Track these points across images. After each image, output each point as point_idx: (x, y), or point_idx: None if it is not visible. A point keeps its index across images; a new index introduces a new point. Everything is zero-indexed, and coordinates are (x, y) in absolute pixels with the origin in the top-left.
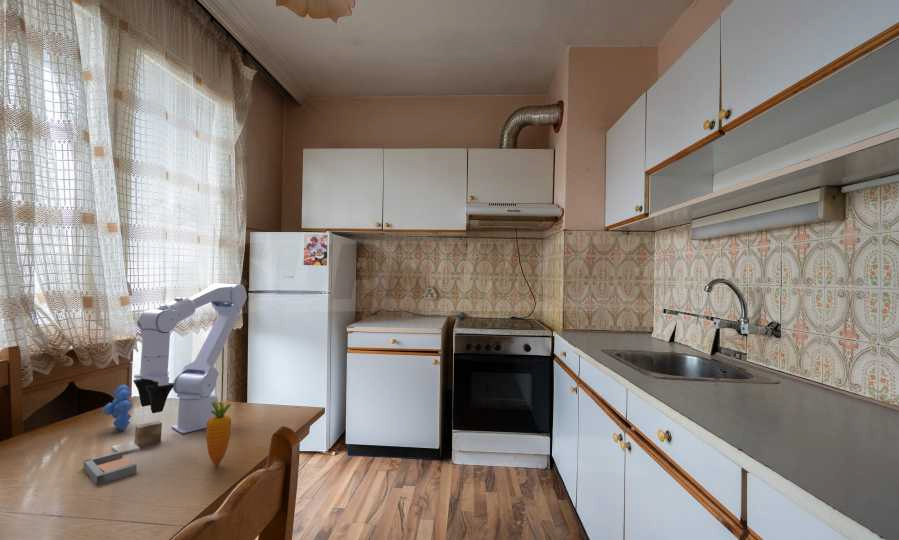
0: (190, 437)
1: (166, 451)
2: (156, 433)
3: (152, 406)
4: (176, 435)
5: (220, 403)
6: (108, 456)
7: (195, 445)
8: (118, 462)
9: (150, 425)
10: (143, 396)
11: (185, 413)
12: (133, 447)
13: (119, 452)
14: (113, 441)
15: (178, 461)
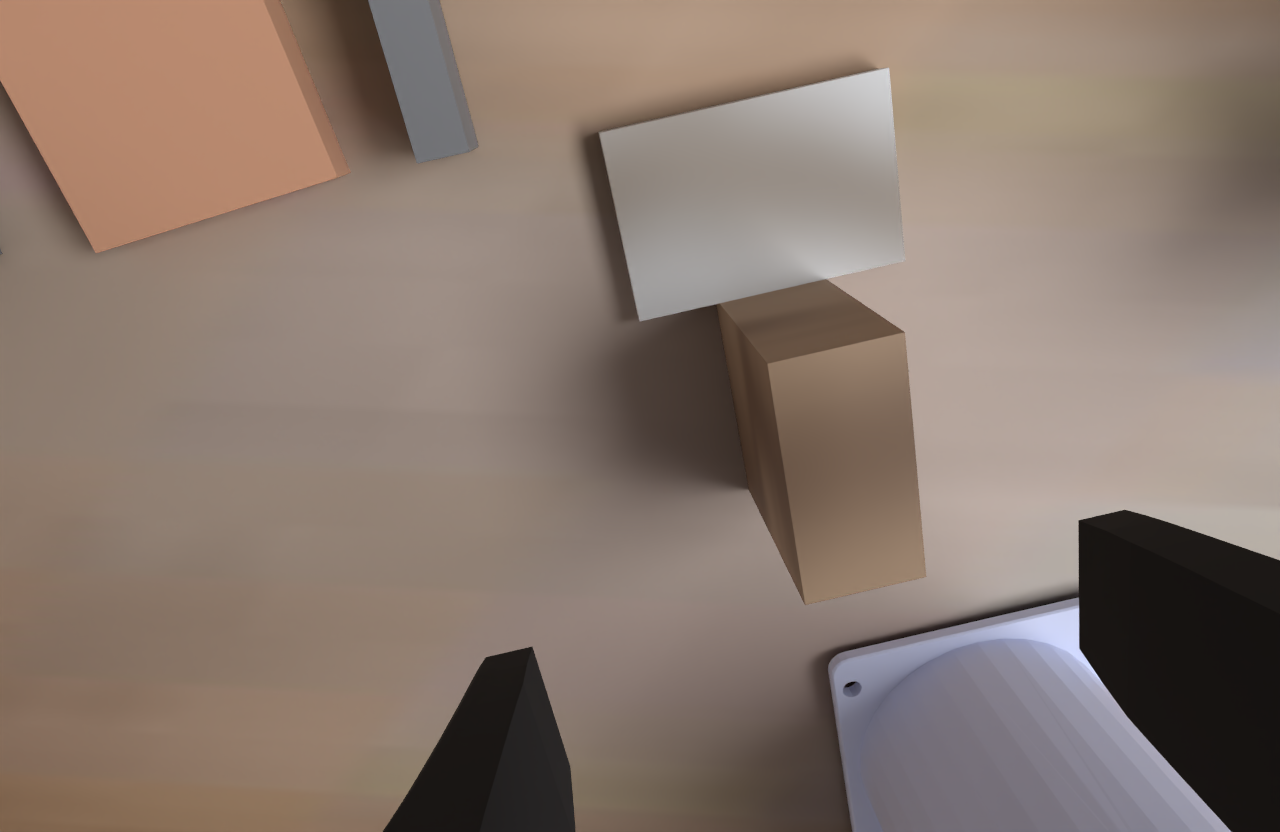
0: (697, 700)
1: (438, 518)
2: (765, 498)
3: (432, 757)
4: (839, 610)
5: None
6: (374, 10)
7: None
8: (205, 114)
9: (788, 490)
10: (1256, 657)
11: (976, 820)
12: (687, 267)
13: (421, 128)
14: (1108, 87)
15: (105, 588)
